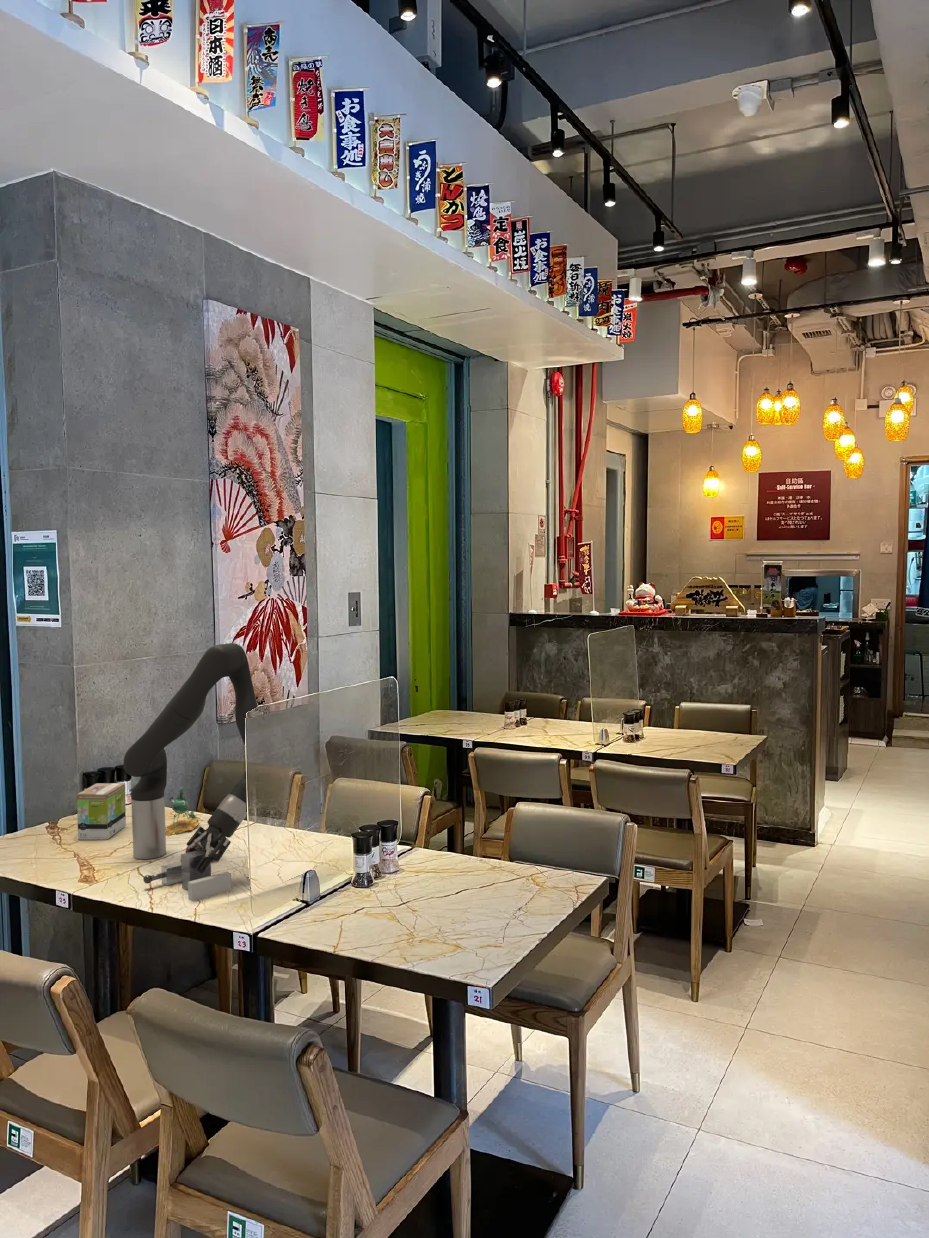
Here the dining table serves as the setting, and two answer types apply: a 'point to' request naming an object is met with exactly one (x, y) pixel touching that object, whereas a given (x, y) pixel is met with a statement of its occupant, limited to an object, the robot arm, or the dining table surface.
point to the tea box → (101, 811)
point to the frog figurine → (180, 808)
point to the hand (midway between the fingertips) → (190, 867)
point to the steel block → (193, 867)
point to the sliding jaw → (167, 874)
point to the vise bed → (209, 886)
